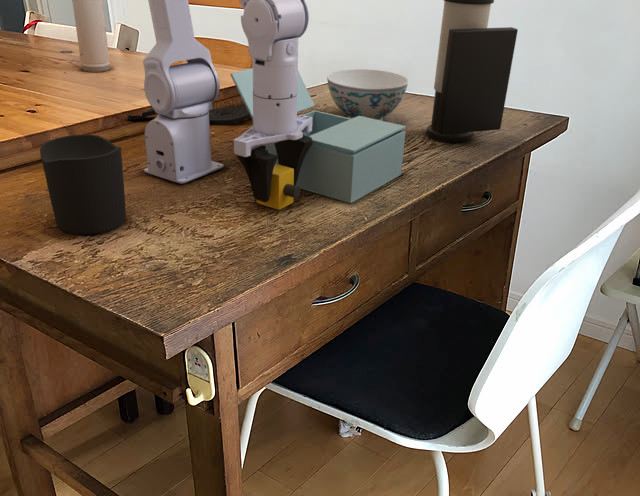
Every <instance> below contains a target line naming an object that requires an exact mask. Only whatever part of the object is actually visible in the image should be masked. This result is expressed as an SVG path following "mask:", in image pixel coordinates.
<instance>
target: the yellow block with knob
mask: <svg viewBox="0 0 640 496" xmlns="http://www.w3.org/2000/svg"><path fill="white" fill-rule="evenodd" d="M301 191H302V189H300V187H298V186H294V169H293V168H289V167H286V166H282V165H279V164H275V166H274V169H273V173H272V178H271V191H270V198H269V201H268V202H262V201H259V200H256V199H255V200H256V204H259V205H262V206H265V207H267V208H272V209H275V210H278V211H280V210H282V209H284V208H286V207H288V206H289V205H292V204H294V199H298V198H299V197H300V196H301Z"/></svg>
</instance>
